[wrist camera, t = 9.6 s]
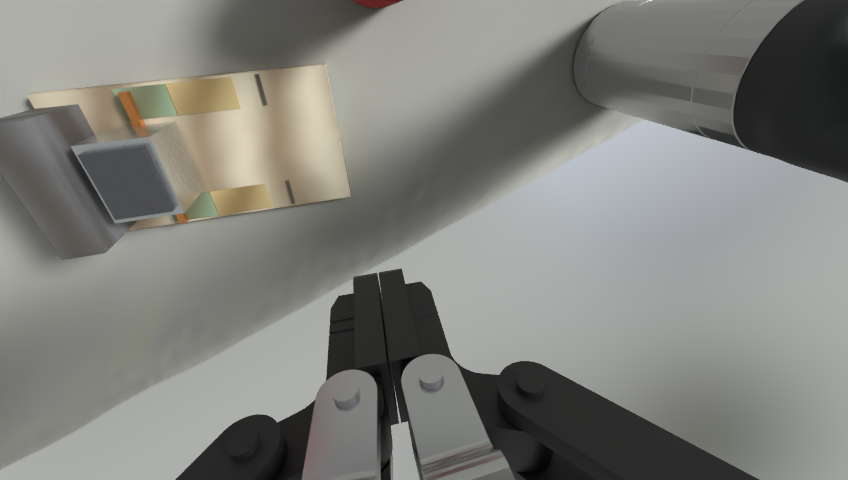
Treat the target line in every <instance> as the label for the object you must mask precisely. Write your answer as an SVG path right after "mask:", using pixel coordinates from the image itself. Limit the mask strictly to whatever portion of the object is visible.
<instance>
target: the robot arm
mask: <svg viewBox="0 0 848 480" xmlns="http://www.w3.org/2000/svg"><path fill="white" fill-rule="evenodd" d="M574 78H575V83H576V86H577V88H578V90H579V92H580V93H581V95H582V96H583V97H584V98H585V99H586V100H588V101H589V102H591V103H593V104H596V105H599V106H602V107H606V108H609V109H612V110H616V111H619V112H622V113H625V114H628V115H632V116H635V117H639V118H642V119H645V120H649V121H652V122H655V123H659V124H662V125H666V126H669V127H672V128H676V129H679V130H682V131H686V132H689V133H693V134H696V135H699V136H703V137H706V138H710V139H713V140H717V141H720V142H724V143H727V144H730V145H734V146H737V147H740V148H744V149H748V150H751V151H754V152H757V153H761V154H764V155H767V156H771V157H774V158H777V159H780V160H782V161H785V162H787V163H790V164H793V165H795V166H799V167H801V168H805V169H808V170H811V171H814V172H817V173H820V174H824V175H827V176H830V177H834V178H836V179H840V180H842V181H845V182H848V0H639V1H628V2H621V3H618V4H615V5H612V6H611V7H609V8H607V9H606V10H604V11H603V12H601V13H600V14H599V15H598V16H597V17H596V18H595V19H594V20H593V21H592V22H591V24H590V25H589V26H588V27H587V29H586V30H585V32H584V34H583V36H582V37H581V39H580V42H579V45H578V47H577V50H576V54H575V59H574ZM379 279H380V286H379V281H378V276H377V273H374V274H368V275H362V276H356V277H354V278H353V286H354V294H348V295H342V296H338V298H337V300H336V301H335V303H334V304H333V306H332V308H331V315H330V332H329V333H330V336H329V347H328V348H329V349H328V365H327V378H326V381H325V383H324V384H323V385H322V386H321V388H320V389H319V391H318V393H317V396H316V399H315V400H314V401H313V402H312V403H311V404H310V405H309V406H307V407H306V408H305V409H303V410H301V411H299V412H298V413H296V414H294V415H292V416H290V417H288V418H286V419H284V420H282V421H280V422H278V423H277V422H276V421H275V420H274V419H273V418H272V417H269V416H267V415H252V416H248V417H245V418H243V419H241V420H239V421H237V422H235V423H233V424H232V425H231V426H229V427H228V428H227V429H226V430H225V431H224V432H223V433H222V434H221V435H220V436H219V437H218V438H217V439H216V440H215V441H214V442H213V443H212V444H211V445H210V446H209V447H208V448H207V449H206V450H205V451H204V452H203V453H202V454H201V455H200V456H199V457H198V458H197V459H196V460H195V461H194V462H193V463H192V464H191V465H190V466H189V467H188V468H187V469H186V470H185V471H184V472H183V473H182V474H181V475H180V476H179V477H178V478H177V479H176V480H393V456H392V435H391V425H393V424H398V423H399V421H398V413H397V406H396V397H397V402H398V408H399V413H400V418H401V422H406V421H408V423H409V430H410V435H411V441H412V447H413V452H414V457H415V461H416V465H417V470H418V474H419V479H420V480H759V479H757V478H755V477H753V476H751V475H749V474H747V473H745V472H744V471H742V470H740V469H738V468H736V467H734V466H732V465H730V464H728V463H727V462H725V461H723V460H721V459H719V458H717V457H715V456H713V455H711V454H710V453H708V452H706V451H704V450H702V449H700V448H698V447H696V446H694V445H692V444H691V443H689V442H687V441H685V440H683V439H681V438H679V437H677V436H675V435H674V434H672V433H670V432H668V431H666V430H664V429H662V428H660V427H659V426H657V425H655V424H653V423H651V422H649V421H647V420H645V419H644V418H642V417H639V416H638V415H636V414H634V413H632V412H630V411H628V410H626V409H624V408H622V407H621V406H619V405H617V404H615V403H613V402H611V401H609V400H608V399H605V398H604V397H602V396H600V395H598V394H596V393H594V392H592V391H591V390H589V389H587V388H585V387H583V386H581V385H579V384H577V383H575V382H574V381H572V380H570V379H568V378H566V377H564V376H562V375H560V374H558V373H557V372H555V371H553V370H551V369H549V368H547V367H545V366H543V365H541V364H538V363H535V362H530V361H520V362H516V363H512V364H510V365H509V366H507V367H505V368H504V369H503V370H502V372H501V373H500V375H491V374H481V373H475V372H471V371H469V370H466V369H465V368H463V367H461V366H460V365H459V364H457V363H456V361H455V360H454V359H453V357H452V356H451V353H450V351H449V348H448V344H447V341H446V338H445V335H444V331H443V328H442V325H441V322H440V319H439V316H438V312H437V309H436V306H435V303H434V299H433V296H432V293H431V291H430V290H429V289H428V288H427V287H426V286H425V285H424V284H423V283H422V282H416V283H410V284H405V281H404V277H403V273H402V269H396V270H391V271H385V272H380V273H379ZM380 287H381V292H380ZM381 295H382V297H381ZM394 386H395V389H394ZM395 392H396V397H395Z"/></svg>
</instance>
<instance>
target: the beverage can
mask: <svg viewBox="0 0 848 480" xmlns="http://www.w3.org/2000/svg"><path fill="white" fill-rule="evenodd" d="M353 1H354V2H356V3H358V4H360V5H362V6H366V7H370V8H381V7H385V6H389V5H392V4H395V3H397V2H400V1H402V0H353Z"/></svg>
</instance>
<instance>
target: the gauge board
mask: <svg viewBox="0 0 848 480" xmlns="http://www.w3.org/2000/svg"><path fill="white" fill-rule="evenodd" d="M123 91H130V93H131V95H132V97H133V99H134V101H135V103H136V106H137V108H138V110H139V112H140V114H141V117H142V119H143V121H144V123H145V125H148V124H156V123H165V122H174V121H176V123H177V126H178V128H179V130H180V133H181V135H182V138H183V140H184V143H185V145H186V147H187V150H188V152H189V155H190V157H191V159H192V162H193V164H194V167H195V169H196V171H197V174H198V176H199V179H200V181H201V183H202V186H203V188H204V190H203V191H202V192H201V193H200V195H199V196H198V197H197V198H196V200H195V201H194V202H193V203H192V205H191V206H190V207H189V208H188V210H187V211H186V214H187V217H188V219H189V220H188V221H187V222H189V221H196V220H202V219H209V218H215V217H222V216H228V215H235V214H241V213H248V212H254V211H261V210H267V209H274V208H281V207H287V206H294V205H300V204H307V203H313V202H320V201H326V200H333V199H339V198H346V197H351V194H350V188H349V183H348V178H347V172H346V167H345V162H344V157H343V152H342V147H341V141H340V136H339V131H338V126H337V121H336V116H335V110H334V105H333V100H332V95H331V90H330V85H329V79H328V74H327V69H326V64H325V63H324V64H314V65H304V66H294V67H284V68H274V69H265V70H255V71H245V72H235V73H225V74H215V75H205V76H195V77H185V78H176V79H166V80H156V81H146V82H136V83H126V84H116V85H106V86H96V87H87V88H77V89H67V90H57V91H47V92H37V93H33V94H28V95H27V97H28V99H29V100H30V102H31V104H32V105H33V107H34V109H32V110H29V111H25V112H21V113H18V114H14V115H10V116H7V117H3V118H0V173H1V175H2V176H3V177H4V179H5V180H6V182H7V183H8V184H9V186H10V187H11V189H12V190H13V191H14V193H15V194H16V196H17V197H18V199H19V200H20V201H21V203H22V204H23V206H24V207H25V208H26V210H27V211H28V213H29V214H30V216H31V217H32V218H33V220H34V221H35V223H36V224H37V225H38V227H39V228H40V230H41V231H42V232H43V234H44V235H45V237H46V238H47V240H48V241H49V242H50V244H51V245H52V247H53V248H54V249H55V251H56V252H57V254H58V255H59V257H60V258H61V259H62V260H65V259H71V258H77V257H83V256H90V255H96V254H102V253H106V252H107V251H108V250H109V249H110V248H111V247H112V246H113V245H114V244H115V243H116V242H117V241H118V240H119V239H120V238H121V237H122V236H123V235H124V234H125V233H126V232H127V231H130V230H137V229H143V228H150V227H156V226H163V225H169V224H176V223H179V221H178V219H177V217H176V215H168V216H162V217H155V218H148V219H142V220H135V221H128V222H122V223H115V222H114V221H113V219H112V217H111V215H110V214H109V212H108V210H107V208H106V207H105V205H104V203H103V202H102V200H101V198H100V196H99V195H98V193H97V191H96V190H95V188H94V186H93V184H92V183H91V181H90V179H89V177H88V176H87V174H86V172H85V171H84V169H83V167H82V165H81V164H80V162H79V160H78V158H77V157H76V155H75V153H74V152H73V150H72V148H71V146H72V145H75V144H77V143H79V142H81V141H83V140H86V139H88V138H90V137H92V136H94V135H97V134H99V133H101V132H103V131H105V130H108V129H114V128H122V127H131V126H133V125H132V123H131V121H130V119H129V117H128V114H127V112H126V110H125V108H124V106H123V104H122V102H121V100H120V98H119V96H118V94H117V93H119V92H123Z"/></svg>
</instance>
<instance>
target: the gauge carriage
mask: <svg viewBox="0 0 848 480" xmlns="http://www.w3.org/2000/svg"><path fill="white" fill-rule="evenodd" d="M117 94H118V96H119V98H120V100H121V102H122V104H123V106H124V108H125V110H126V112H127V114H128V117H129V119H130V121H131V123H132V125H133V126H131V127H122V128H114V129H108V130H105V131H103V132H101V133H99V134H97V135H94V136H92V137H90V138H88V139H86V140H83V141H81V142H79V143H77V144H75V145H72V146H71V148H72V150H73V152H74V153H75V155H76V157H77V158H78V160H79V162H80V164H81V165H82V167H83V169H84V171H85V172H86V174H87V176H88V177H89V179H90V181H91V183H92V184H93V186H94V188H95V190H96V191H97V193H98V195H99V196H100V198H101V200H102V202H103V203H104V205H105V207H106V208H107V210H108V212H109V214H110V215H111V217H112V219H113V221H114V222H115V223H122V222H128V221H135V220H142V219H148V218H155V217H162V216H168V215H176V217H177V219H178V221H179V223H187V221H188V220H189V219H188V217H187V214H186V211H187V210H188V208H189V207H190V206H191V205H192V203H193V202H194V201H195V200H196V198H197V197H198V196H199V195H200V193H201V192H202V191H203V190H204V188H203V186H202V183H201V181H200V179H199V176H198V174H197V171H196V169H195V167H194V164H193V162H192V159H191V157H190V155H189V152H188V150H187V147H186V145H185V143H184V140H183V138H182V135H181V133H180V130H179V128H178V126H177V123H176V121H174V122H165V123H156V124H148V125H145V123H144V121H143V119H142V117H141V114H140V112H139V110H138V108H137V106H136V103H135V101H134V99H133V97H132V95H131V93H130V91H123V92H119V93H117Z"/></svg>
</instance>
